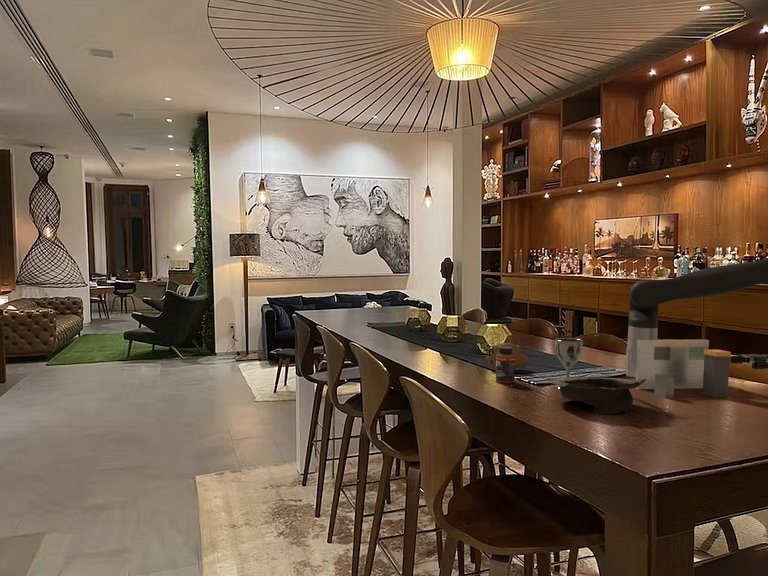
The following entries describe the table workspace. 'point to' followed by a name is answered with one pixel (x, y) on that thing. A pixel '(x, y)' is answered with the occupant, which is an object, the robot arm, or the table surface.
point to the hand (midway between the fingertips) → (741, 362)
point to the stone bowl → (599, 392)
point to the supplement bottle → (505, 366)
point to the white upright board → (671, 365)
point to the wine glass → (568, 352)
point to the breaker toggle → (716, 373)
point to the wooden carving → (519, 358)
